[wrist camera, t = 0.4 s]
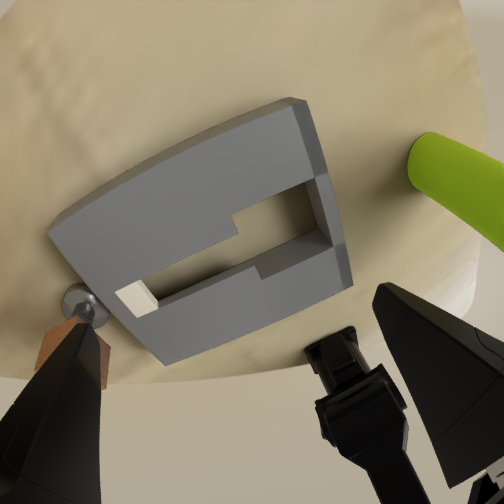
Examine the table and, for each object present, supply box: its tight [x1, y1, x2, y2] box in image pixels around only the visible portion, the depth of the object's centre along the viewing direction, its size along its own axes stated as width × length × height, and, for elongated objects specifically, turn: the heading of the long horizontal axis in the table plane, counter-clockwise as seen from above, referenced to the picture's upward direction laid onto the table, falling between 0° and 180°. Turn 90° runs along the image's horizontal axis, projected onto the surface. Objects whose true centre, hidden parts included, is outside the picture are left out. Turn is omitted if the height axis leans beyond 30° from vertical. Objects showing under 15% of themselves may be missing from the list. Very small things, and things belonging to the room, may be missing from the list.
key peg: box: [34, 283, 111, 390], centre depth 20 cm, size 4×4×8 cm
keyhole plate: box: [46, 97, 353, 366], centre depth 22 cm, size 18×16×3 cm
